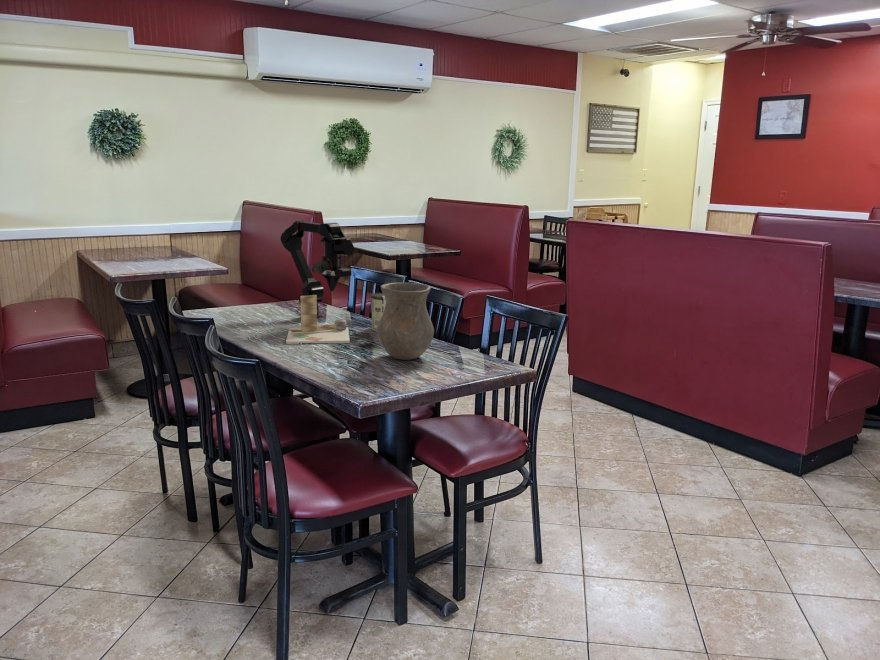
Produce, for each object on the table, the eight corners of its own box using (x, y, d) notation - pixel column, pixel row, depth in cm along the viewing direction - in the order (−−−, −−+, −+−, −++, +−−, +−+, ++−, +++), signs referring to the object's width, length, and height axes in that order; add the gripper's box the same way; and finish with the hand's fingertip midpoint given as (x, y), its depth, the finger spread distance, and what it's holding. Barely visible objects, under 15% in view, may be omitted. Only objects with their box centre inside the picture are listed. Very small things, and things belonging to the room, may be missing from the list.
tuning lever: (343, 326, 276) (343, 292, 273) (348, 329, 272) (347, 293, 269) (289, 332, 265) (288, 296, 261) (293, 334, 261) (292, 298, 258)
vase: (442, 354, 244) (443, 284, 238) (420, 367, 226) (421, 292, 221) (391, 348, 251) (391, 279, 245) (366, 360, 233) (366, 287, 228)
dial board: (348, 329, 277) (348, 326, 277) (349, 343, 256) (349, 339, 256) (289, 330, 274) (289, 327, 274) (286, 344, 253) (286, 340, 252)
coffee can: (397, 326, 285) (398, 292, 282) (395, 332, 275) (396, 297, 272) (372, 326, 285) (372, 292, 282) (369, 331, 275) (369, 296, 272)
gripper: (301, 253, 285) (302, 290, 289) (330, 257, 273) (331, 296, 277) (322, 251, 293) (323, 287, 297) (352, 255, 281) (352, 293, 285)
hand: (332, 291), depth 289 cm, fingers closed
